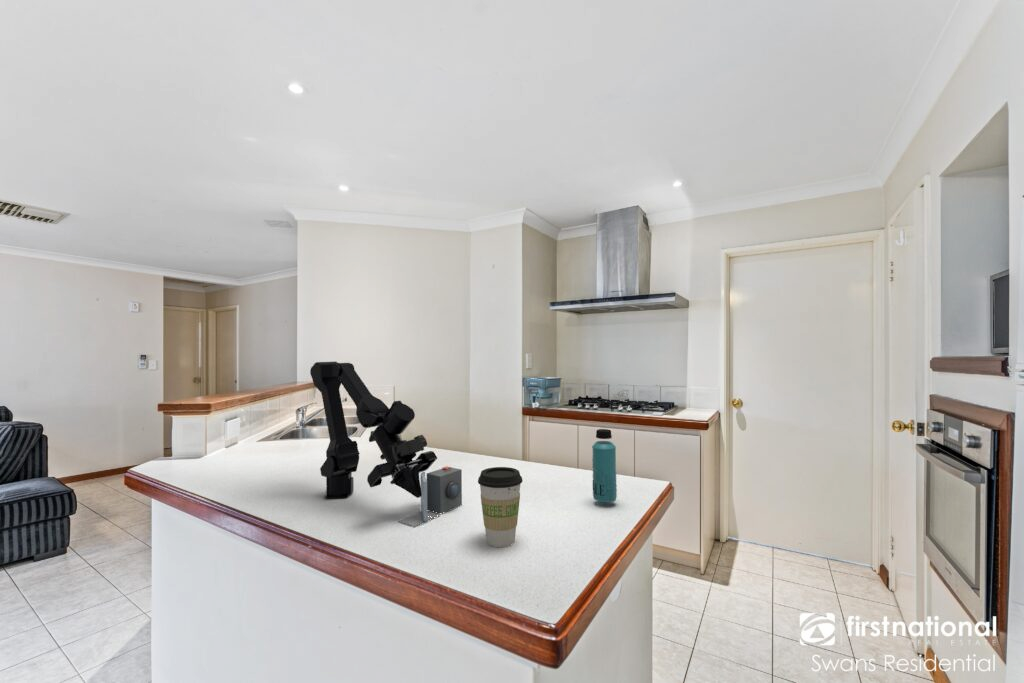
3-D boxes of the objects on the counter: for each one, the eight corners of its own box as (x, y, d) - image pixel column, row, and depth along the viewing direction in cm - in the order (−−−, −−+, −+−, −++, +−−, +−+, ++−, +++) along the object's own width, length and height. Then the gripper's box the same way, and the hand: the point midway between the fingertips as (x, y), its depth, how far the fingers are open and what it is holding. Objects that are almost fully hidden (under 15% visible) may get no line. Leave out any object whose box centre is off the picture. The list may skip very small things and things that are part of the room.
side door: (424, 520, 108) (423, 481, 108) (420, 508, 116) (420, 472, 117) (429, 520, 108) (428, 481, 109) (425, 508, 117) (424, 471, 117)
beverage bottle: (619, 501, 122) (618, 428, 122) (614, 510, 116) (613, 432, 116) (595, 498, 125) (595, 426, 125) (589, 506, 119) (588, 430, 119)
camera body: (398, 522, 109) (397, 480, 109) (448, 501, 123) (447, 464, 123) (416, 528, 105) (415, 484, 106) (465, 506, 120) (465, 467, 120)
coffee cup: (489, 554, 91) (489, 481, 92) (471, 537, 100) (470, 469, 100) (531, 544, 96) (530, 474, 96) (510, 528, 105) (509, 464, 105)
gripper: (375, 431, 105) (406, 488, 99) (432, 420, 121) (463, 469, 114) (354, 459, 110) (382, 515, 104) (412, 445, 125) (440, 493, 119)
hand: (419, 496), depth 110 cm, fingers closed
